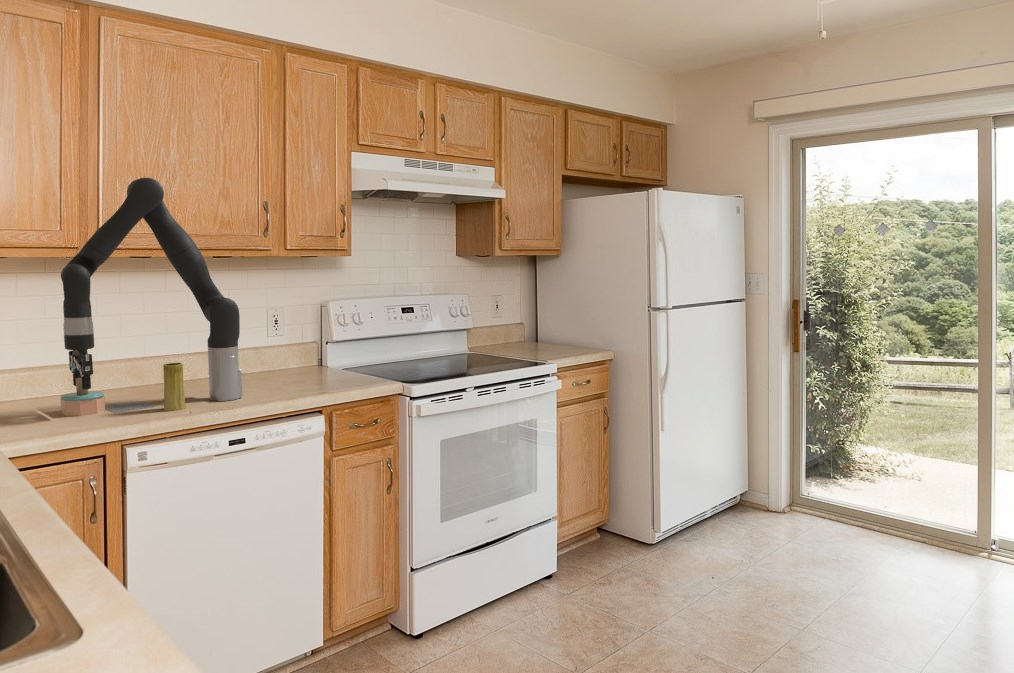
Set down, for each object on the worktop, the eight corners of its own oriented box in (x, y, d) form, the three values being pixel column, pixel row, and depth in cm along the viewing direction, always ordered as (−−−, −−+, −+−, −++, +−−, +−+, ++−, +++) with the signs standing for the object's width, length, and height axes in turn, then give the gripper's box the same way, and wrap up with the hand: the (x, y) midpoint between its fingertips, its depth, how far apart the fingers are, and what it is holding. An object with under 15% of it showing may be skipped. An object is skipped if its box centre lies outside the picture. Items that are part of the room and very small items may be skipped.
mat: (142, 403, 232) (142, 401, 232) (156, 408, 224) (156, 406, 223) (100, 408, 224) (100, 406, 223) (113, 414, 215) (113, 412, 215)
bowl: (97, 408, 223) (96, 392, 223) (108, 414, 216) (107, 397, 215) (58, 413, 216) (57, 397, 215) (68, 419, 208) (67, 402, 208)
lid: (97, 392, 223) (96, 373, 222) (109, 397, 215) (108, 377, 215) (56, 397, 215) (54, 377, 215) (67, 402, 207) (65, 382, 207)
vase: (189, 408, 224) (187, 362, 222) (181, 412, 218) (178, 365, 216) (169, 408, 224) (166, 362, 222) (160, 412, 218) (158, 365, 216)
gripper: (100, 333, 211) (103, 389, 213) (85, 330, 221) (88, 383, 223) (71, 335, 206) (74, 392, 207) (57, 331, 216) (60, 386, 217)
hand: (82, 387), depth 215 cm, fingers open, 8 cm apart
